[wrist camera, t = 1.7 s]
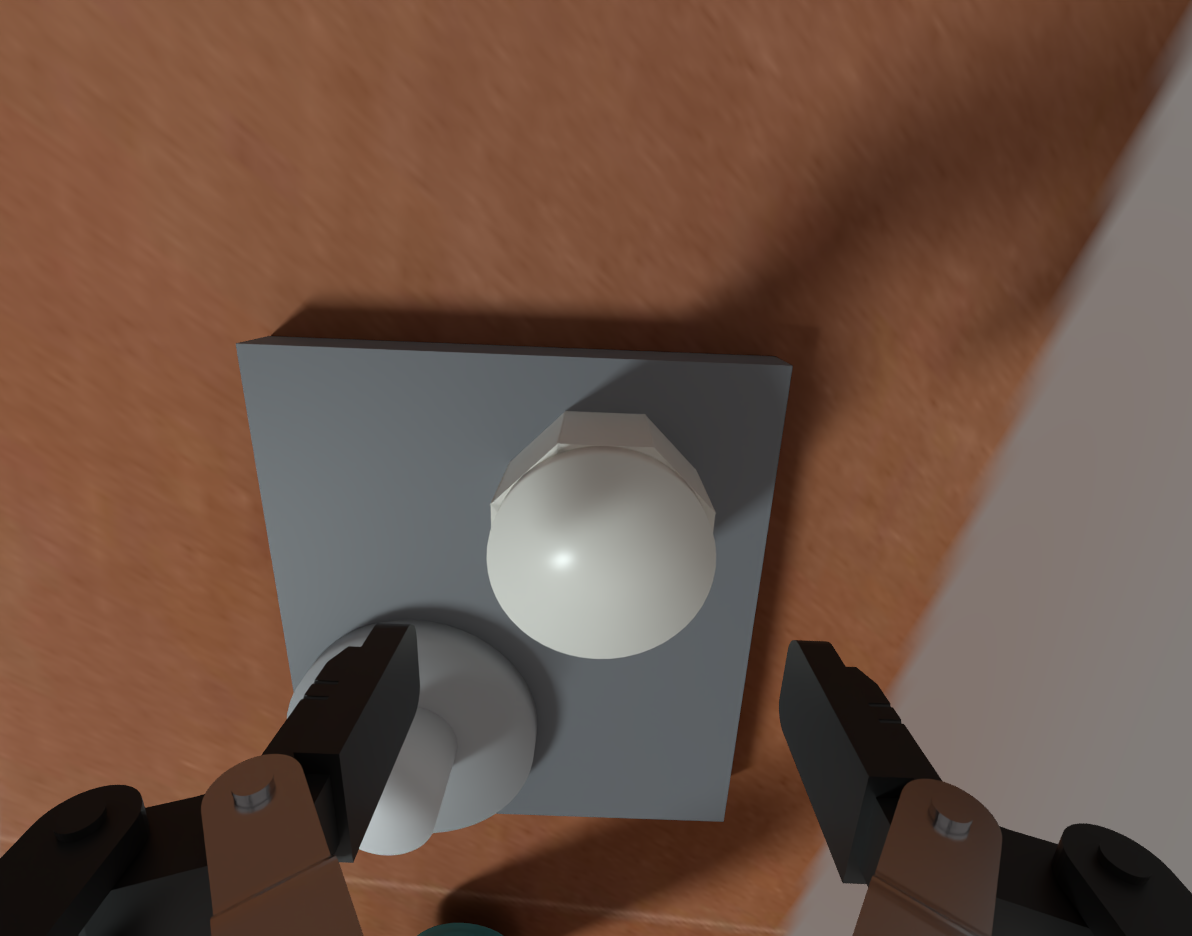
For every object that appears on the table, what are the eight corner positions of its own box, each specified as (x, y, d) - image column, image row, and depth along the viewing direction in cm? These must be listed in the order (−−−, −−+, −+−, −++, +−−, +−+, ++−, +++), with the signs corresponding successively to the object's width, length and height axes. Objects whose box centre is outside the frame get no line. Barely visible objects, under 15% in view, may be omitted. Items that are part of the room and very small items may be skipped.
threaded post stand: (269, 336, 21) (131, 366, 15) (775, 356, 21) (847, 395, 15) (333, 769, 27) (256, 913, 21) (715, 783, 27) (747, 930, 21)
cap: (508, 408, 19) (483, 449, 15) (701, 415, 19) (729, 459, 15) (510, 577, 21) (488, 655, 17) (684, 584, 22) (704, 663, 17)
